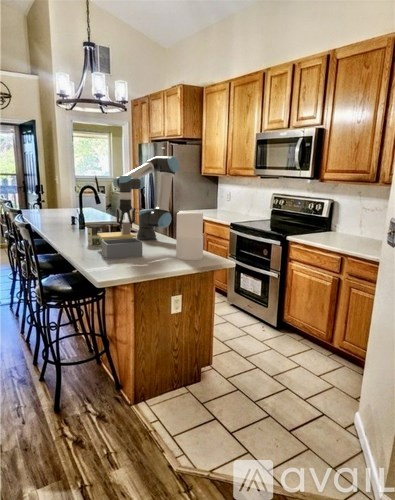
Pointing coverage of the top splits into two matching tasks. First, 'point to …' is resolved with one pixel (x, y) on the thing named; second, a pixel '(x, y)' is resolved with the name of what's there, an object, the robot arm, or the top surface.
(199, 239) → the cylinder
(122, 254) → the tub
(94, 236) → the coffee can
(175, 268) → the top surface
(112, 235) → the lid
